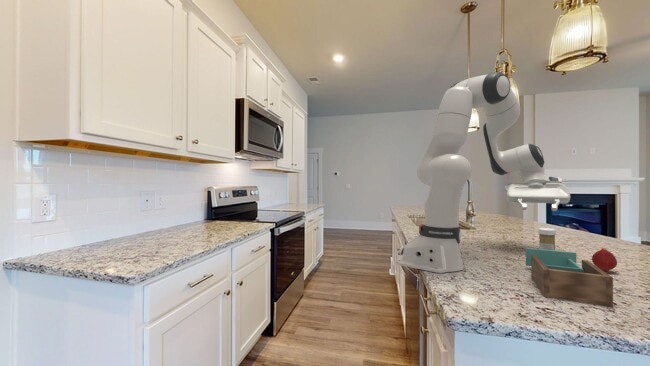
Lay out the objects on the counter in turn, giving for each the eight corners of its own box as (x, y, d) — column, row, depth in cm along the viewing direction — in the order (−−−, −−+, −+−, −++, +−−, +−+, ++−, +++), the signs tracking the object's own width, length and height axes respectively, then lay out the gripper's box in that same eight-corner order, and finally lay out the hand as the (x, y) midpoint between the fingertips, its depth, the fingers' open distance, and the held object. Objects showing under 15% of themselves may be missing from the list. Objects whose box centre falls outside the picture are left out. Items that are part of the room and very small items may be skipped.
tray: (533, 276, 82) (533, 257, 82) (525, 264, 94) (525, 247, 94) (591, 284, 76) (591, 263, 76) (575, 270, 88) (575, 252, 88)
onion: (622, 274, 87) (622, 249, 87) (604, 274, 87) (604, 249, 87) (604, 268, 93) (604, 245, 93) (587, 268, 93) (587, 245, 93)
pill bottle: (557, 267, 94) (557, 228, 94) (552, 270, 92) (552, 230, 92) (541, 264, 98) (541, 227, 98) (536, 266, 95) (536, 228, 95)
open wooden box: (543, 296, 71) (543, 269, 71) (531, 277, 85) (531, 254, 85) (613, 307, 64) (612, 277, 64) (587, 284, 79) (587, 260, 79)
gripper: (504, 178, 117) (507, 203, 108) (566, 178, 107) (575, 204, 99) (503, 188, 121) (506, 213, 112) (563, 189, 111) (571, 216, 103)
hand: (539, 209), depth 105 cm, fingers open, 8 cm apart
